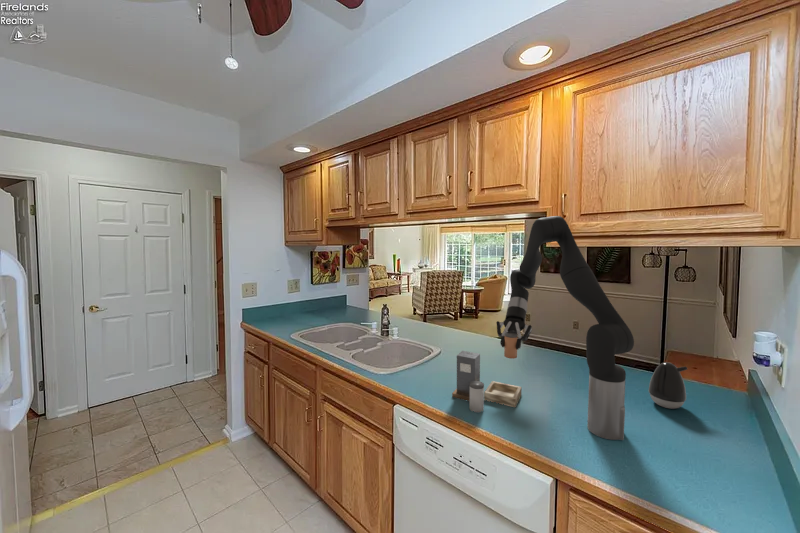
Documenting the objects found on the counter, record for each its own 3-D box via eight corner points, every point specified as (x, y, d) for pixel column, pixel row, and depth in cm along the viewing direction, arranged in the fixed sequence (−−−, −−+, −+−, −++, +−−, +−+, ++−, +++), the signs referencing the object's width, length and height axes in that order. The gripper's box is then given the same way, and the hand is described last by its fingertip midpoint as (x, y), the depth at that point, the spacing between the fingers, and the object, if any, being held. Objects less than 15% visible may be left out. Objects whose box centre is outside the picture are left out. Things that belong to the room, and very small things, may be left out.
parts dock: (521, 394, 124) (521, 386, 124) (515, 407, 115) (515, 399, 115) (492, 388, 130) (492, 380, 130) (484, 400, 120) (484, 392, 120)
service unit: (483, 391, 127) (484, 352, 126) (475, 402, 118) (476, 360, 117) (461, 386, 132) (461, 348, 130) (452, 397, 123) (452, 356, 122)
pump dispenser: (692, 414, 109) (694, 370, 108) (654, 409, 112) (656, 366, 111) (678, 400, 118) (680, 359, 117) (643, 396, 122) (645, 356, 121)
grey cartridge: (485, 407, 115) (486, 382, 114) (480, 413, 111) (481, 388, 110) (472, 404, 118) (472, 379, 117) (467, 409, 114) (467, 384, 113)
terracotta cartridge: (518, 355, 130) (518, 333, 129) (515, 359, 126) (516, 336, 125) (505, 353, 132) (506, 331, 131) (502, 357, 128) (503, 334, 127)
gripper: (497, 303, 137) (489, 340, 128) (534, 307, 130) (528, 346, 121) (500, 313, 142) (492, 349, 133) (536, 317, 135) (530, 355, 126)
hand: (509, 347), depth 127 cm, fingers closed on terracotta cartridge, 4 cm apart
